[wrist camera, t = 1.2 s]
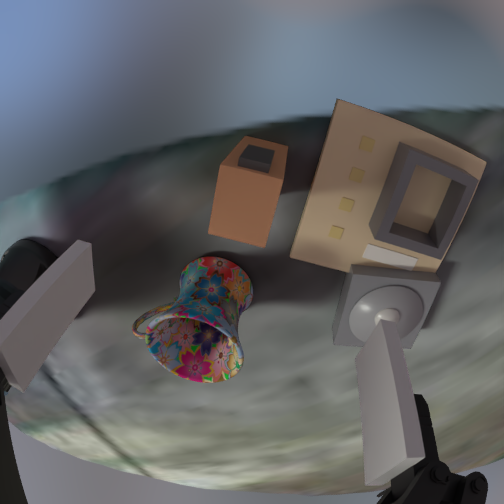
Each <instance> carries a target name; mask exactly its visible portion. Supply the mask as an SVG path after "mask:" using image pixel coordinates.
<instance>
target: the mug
mask: <svg viewBox="0 0 504 504" xmlns="http://www.w3.org/2000/svg"><path fill="white" fill-rule="evenodd" d="M252 298H253V287H252V283H251V281H250V279H249V277H248V275H247V274H246V273H245V272H244V271H243V270H242V269H241V268H240V267H239V266H238V265H236V264H235V263H233V262H231V261H229V260H226V259H223V258H219V257H202V258H198V259H196V260H193V261H192V262H190V263H189V264H188V265H187V266H186V267H185V268H184V269H183V271H182V273H181V276H180V294H179V297H178V298H177V297H174V301H175V302H173V303H169V304H165V305H162V306H159V307H157V308H154V309H152V310H150V311H148V312H146V313H145V314H143V315H142V316H140V317H139V318H138V319H137V320H136V321H135V322H134V324H133V326H132V330H133V333H134V335H135V336H136V337H138V338H140V339H146V344H147V347H148V349H149V351H150V353H151V354H152V356H153V357H154V358H155V359H156V361H157V362H158V363H159V364H161V365H162V366H163V367H164V368H166V369H167V370H169V371H170V372H172V373H174V374H176V375H178V376H180V377H182V378H185V379H188V380H192V381H197V382H205V383H213V382H220V381H224V380H227V379H230V378H231V377H233V376H235V375H236V374H237V373H238V372H239V371H240V369H241V367H242V365H243V361H244V354H243V350H242V347H241V344H240V341H239V337H238V321H239V318H240V315H241V313H242V312H244V311H245V310H246V309H247V308H248V307H249V305H250V303H251V301H252ZM166 310H167V311H166ZM163 311H166V312H165V313H163V314H162V315H160V316H158V317H156V318H155V319H154V320H153V321H152V322H151V323H150V324H149V326H148V327H147V330H146V333H140V332H138V331H137V328H138V326H139V325H140V324H141V323H143V322H144V321H145V320H147V319H148V318H150V317H152V316H154V315H156V314H158V313H160V312H163Z"/></svg>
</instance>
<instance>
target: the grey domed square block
mask: <svg viewBox="0 0 504 504" xmlns="http://www.w3.org/2000/svg"><path fill="white" fill-rule="evenodd" d="M440 284H441V281H440V279H439V278H438V276H437V274H436V273H433V272H423V271H413V270H412V271H409V270H403V269H394V268H384V267H374V266H365V265H355V264H351V266H350V270H349V273H348V272H346V275H345V279H344V284H343V288H342V292H341V296H340V300H339V304H338V307H337V311H336V315H335V319H334V322H333V326H332V331H333V345H343V346H359V347H363V346H364V345H365V343H366V342H367V340H368V338H369V337H370V335H371V334H372V332H373V330H374V329H375V327H376V326H377V324H378V322H379V321H380V319H383V320H388V321H392V322H395V324H396V327H397V331H398V334H399V338H400V341H401V345H402V348H407V349H411V347H412V346H413V344H414V342H415V340H416V338H417V335H418V333H419V331H420V329H421V327H422V325H423V323H424V321H425V319H426V316H427V314H428V312H429V310H430V308H431V305H432V303H433V301H434V298H435V296H436V294H437V291H438V289H439V286H440Z"/></svg>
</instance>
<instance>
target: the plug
mask: <svg viewBox="0 0 504 504" xmlns="http://www.w3.org/2000/svg"><path fill="white" fill-rule="evenodd" d="M287 152H288V146H286V145H282V144H278V143H274V142H270V141H266V140H262V139H258V138H253V137H249V136H244V137H243V139H242V140H241V141H240V142H239V143H238V144H237V146H236V147H235V148H234V149H233V150H232V151H231V153H230V154H229V155H228V156H227V157H226V158H225V160H224V161H223V162H222V163H221V164H220V169H219V174H218V179H217V185H216V190H215V196H214V201H213V207H212V213H211V219H210V224H209V230H208V234H212V235H216V236H220V237H224V238H228V239H232V240H236V241H239V242H243V243H247V244H251V245H255V246H259V247H263V248H265V246H266V242H267V238H268V235H269V231H270V228H271V224H272V220H273V217H274V213H275V210H276V206H277V202H278V199H279V195H280V191H281V188H282V184H283V180H284V174H285V166H286V159H287Z"/></svg>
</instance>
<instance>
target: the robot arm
mask: <svg viewBox="0 0 504 504" xmlns="http://www.w3.org/2000/svg"><path fill="white" fill-rule="evenodd" d="M94 292H95V282H94V272H93V260H92V246H91V243H88V242H84V241H81V240H77V241H76V242H75V243H74V244H73V245H72V246H70V247H69V248H68V249H67V250H66V251H65V252H64V253H63V254H62V255H61V256H60V257H59V258H57V257H56V256H55V255H54V254H53V253H51V252H50V251H49V250H48V249H46V248H45V247H44V246H42V245H40V244H38V243H36V242H34V241H31V240H19V241H17V242H16V243H14V244H13V245H12V246H11V247H10V248H8V249H7V250H6V251H5V253H4V254H3V256H2V259H1V263H0V504H28V502H27V499H26V496H25V493H24V490H23V486H22V483H21V479H20V475H19V471H18V467H17V464H16V459H15V455H14V450H13V446H12V441H11V435H10V430H9V424H8V418H7V411H6V404H5V396H6V395H7V394H8V391H9V389H10V388H11V386H13V387H15V388H17V389H18V390H20V391H22V392H23V393H24V392H25V390H26V388H27V387H28V385H29V384H30V382H31V381H32V379H33V377H34V376H35V374H36V373H37V371H38V370H39V368H40V367H41V365H42V364H43V362H44V361H45V359H46V358H47V356H48V355H49V353H50V352H51V351H52V349H53V348H54V346H55V345H56V343H57V342H58V340H59V339H60V338H61V336H62V335H63V333H64V332H65V331H66V329H67V328H68V326H69V325H70V324H71V322H72V321H73V320H74V318H75V317H76V316H77V314H78V313H79V312H80V310H81V309H82V308H83V306H84V305H85V304H86V302H87V301H88V300H89V298H90V297H91V296H92V294H93V293H94ZM355 362H356V370H357V379H358V389H359V399H360V410H361V422H362V435H363V451H364V471H365V485H383V484H385V483H387V482H388V481H390V480H391V487H390V488H388V489H386V490H384V491H383V492H381V493H379V494H378V495H377V497H380V496H382V495H383V496H382V497H381V499H380V500H379V501H378V503H377V504H485V502H486V496H487V491H488V483H487V480H486V478H485V476H484V475H483V474H481V473H480V472H473V473H470V474H469V475H467V476H466V477H465V476H461V475H458V474H454V473H451V472H450V470H449V467H448V466H447V465H446V464H445V463H443V462H441V461H439V457H438V452H437V446H436V441H435V436H434V431H433V427H432V421H431V418H430V412H429V408H428V404H427V403H426V401H425V399H424V398H423V396H422V395H419V394H413V390H412V385H411V381H410V377H409V372H408V368H407V364H406V360H405V357H404V353H403V349H402V345H401V341H400V338H399V334H398V331H397V327H396V324H395V322H392V321H388V320H383V319H380V321H379V322H378V324H377V326H376V327H375V329H374V330H373V332H372V334H371V335H370V337H369V338H368V340H367V342H366V343H365V345H364V346H363V348H362V349H361V351H360V352H359V354H358V355H357V357H356V358H355Z"/></svg>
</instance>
